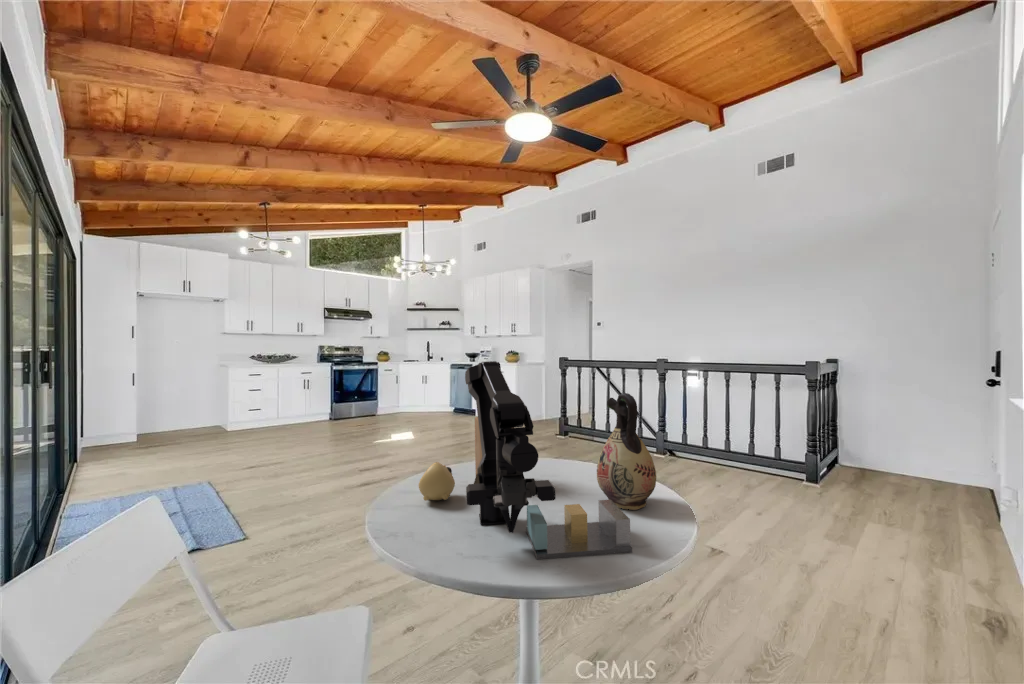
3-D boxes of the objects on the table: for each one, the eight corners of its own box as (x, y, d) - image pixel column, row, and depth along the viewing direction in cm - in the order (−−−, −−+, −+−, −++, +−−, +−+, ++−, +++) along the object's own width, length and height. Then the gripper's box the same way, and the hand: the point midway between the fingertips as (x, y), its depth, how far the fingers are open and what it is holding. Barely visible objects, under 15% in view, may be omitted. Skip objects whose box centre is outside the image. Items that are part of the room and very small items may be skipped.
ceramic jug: (588, 497, 130) (586, 389, 130) (638, 492, 134) (637, 387, 133) (614, 520, 114) (613, 397, 113) (672, 514, 117) (670, 394, 117)
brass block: (571, 543, 99) (571, 515, 99) (564, 531, 105) (564, 505, 105) (587, 542, 100) (587, 513, 100) (579, 530, 106) (579, 504, 106)
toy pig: (457, 492, 137) (456, 455, 136) (453, 507, 125) (452, 467, 124) (423, 492, 136) (422, 456, 136) (415, 507, 124) (415, 467, 124)
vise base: (536, 559, 94) (536, 527, 94) (526, 531, 108) (525, 503, 108) (632, 552, 97) (631, 521, 97) (609, 525, 111) (609, 498, 111)
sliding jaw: (535, 549, 96) (535, 524, 96) (527, 528, 107) (526, 505, 107) (547, 549, 96) (547, 523, 96) (537, 527, 107) (537, 504, 107)
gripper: (467, 472, 91) (468, 552, 92) (560, 467, 94) (561, 545, 94) (465, 457, 103) (466, 529, 103) (549, 453, 105) (550, 523, 105)
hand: (510, 531), depth 101 cm, fingers closed
